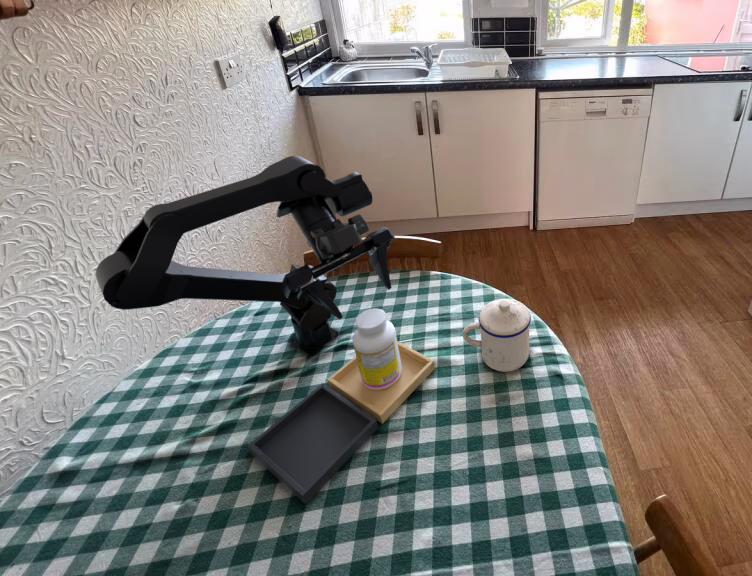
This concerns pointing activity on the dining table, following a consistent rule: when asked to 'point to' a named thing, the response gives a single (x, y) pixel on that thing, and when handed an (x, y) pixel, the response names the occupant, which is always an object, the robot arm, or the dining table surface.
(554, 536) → the dining table surface
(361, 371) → the supplement bottle
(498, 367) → the teacup with lid
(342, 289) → the dining table surface
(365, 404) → the light tray
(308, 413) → the dark tray
